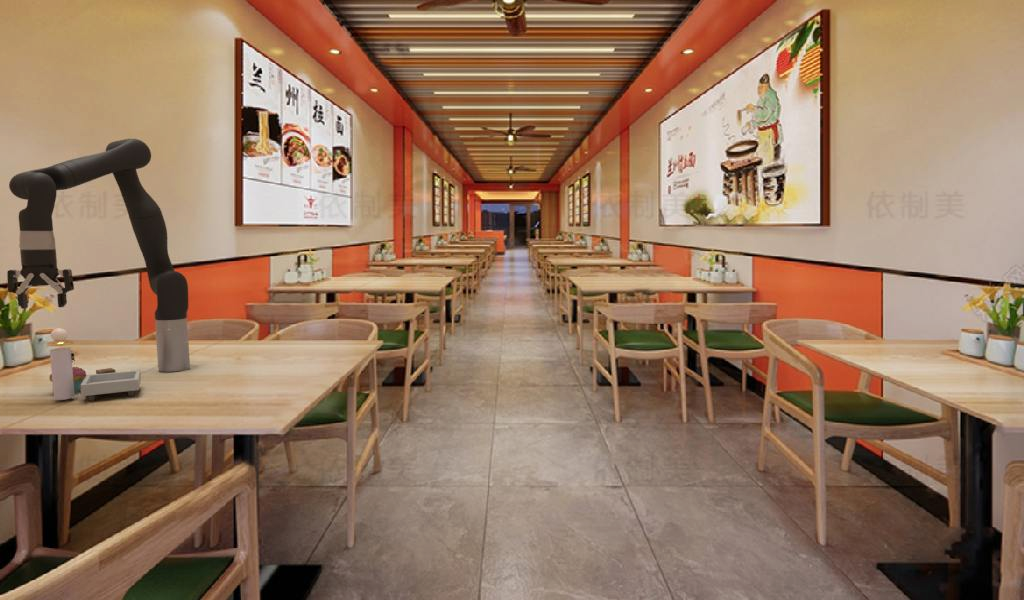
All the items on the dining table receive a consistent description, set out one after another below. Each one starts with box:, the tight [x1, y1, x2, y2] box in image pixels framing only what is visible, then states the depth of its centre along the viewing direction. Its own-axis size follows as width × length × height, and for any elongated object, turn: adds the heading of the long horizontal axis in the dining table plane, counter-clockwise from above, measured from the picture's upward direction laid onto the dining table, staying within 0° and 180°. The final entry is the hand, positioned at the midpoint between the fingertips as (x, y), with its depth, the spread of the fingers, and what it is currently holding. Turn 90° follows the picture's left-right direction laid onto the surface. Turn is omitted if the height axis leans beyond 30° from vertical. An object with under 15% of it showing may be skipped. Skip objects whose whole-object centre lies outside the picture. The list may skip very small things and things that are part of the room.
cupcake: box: [49, 350, 87, 393], centre depth 168 cm, size 9×8×12 cm
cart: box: [80, 369, 142, 402], centre depth 165 cm, size 13×13×5 cm
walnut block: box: [95, 367, 117, 374], centre depth 179 cm, size 4×4×4 cm
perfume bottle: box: [45, 327, 76, 401], centre depth 159 cm, size 6×6×20 cm
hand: (43, 307), depth 160 cm, fingers open, 8 cm apart
